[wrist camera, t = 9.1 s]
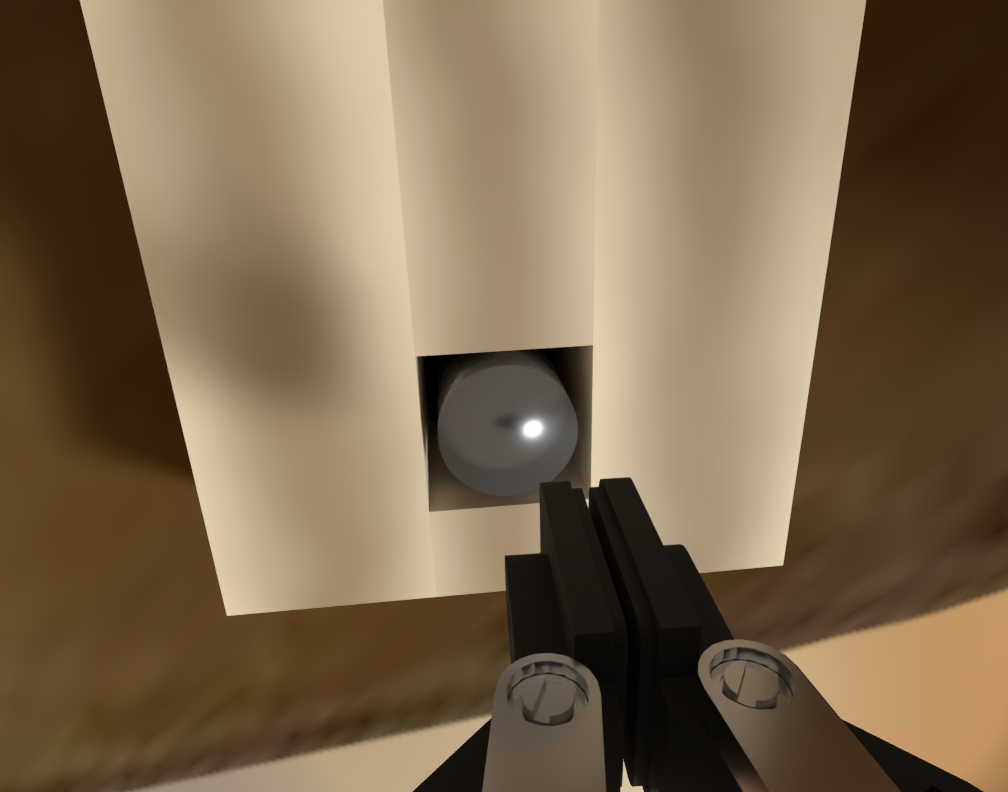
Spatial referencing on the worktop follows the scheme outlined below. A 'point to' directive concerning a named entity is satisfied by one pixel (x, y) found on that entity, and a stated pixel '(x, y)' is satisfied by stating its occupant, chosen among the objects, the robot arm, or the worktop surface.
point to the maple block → (477, 262)
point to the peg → (504, 420)
